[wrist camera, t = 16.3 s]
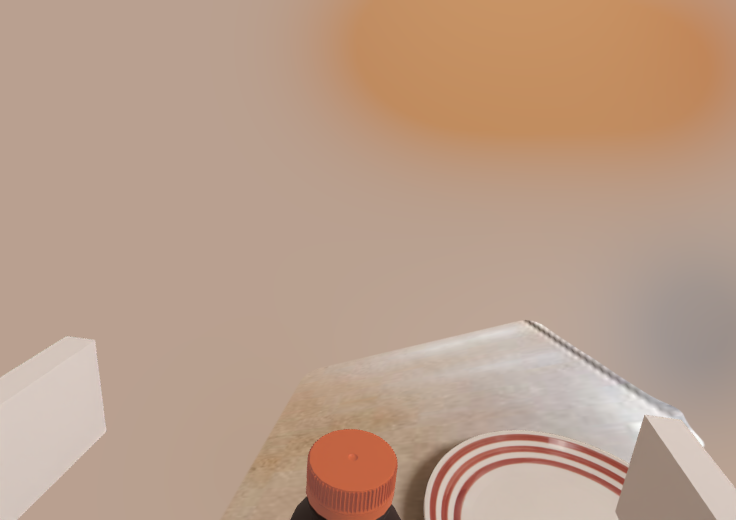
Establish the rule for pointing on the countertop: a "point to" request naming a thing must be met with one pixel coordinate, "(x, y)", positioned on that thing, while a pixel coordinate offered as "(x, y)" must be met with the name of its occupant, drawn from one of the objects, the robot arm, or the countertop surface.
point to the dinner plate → (524, 479)
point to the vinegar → (349, 478)
